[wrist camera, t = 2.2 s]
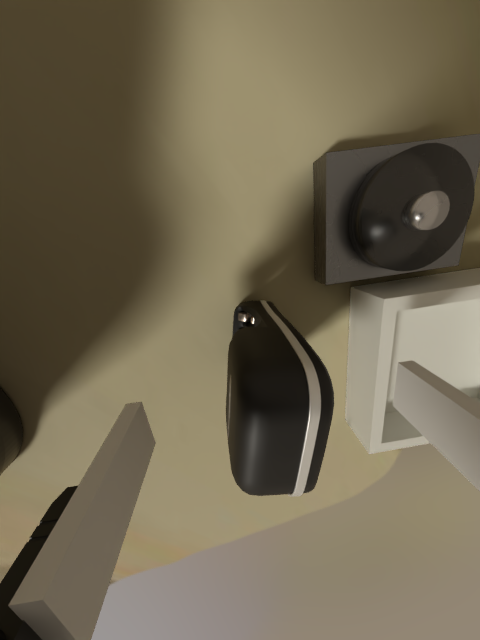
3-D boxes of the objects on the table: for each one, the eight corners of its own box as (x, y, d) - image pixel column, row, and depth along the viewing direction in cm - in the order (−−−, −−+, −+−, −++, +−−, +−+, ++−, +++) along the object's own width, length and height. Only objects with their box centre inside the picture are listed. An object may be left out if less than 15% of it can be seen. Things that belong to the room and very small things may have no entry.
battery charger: (225, 295, 18) (235, 381, 7) (272, 297, 18) (348, 380, 8) (222, 372, 20) (227, 521, 10) (264, 372, 21) (314, 515, 10)
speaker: (314, 280, 18) (343, 292, 14) (313, 163, 15) (348, 135, 11) (434, 262, 19) (497, 269, 14) (453, 145, 16) (539, 111, 12)
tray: (345, 419, 24) (369, 454, 20) (350, 286, 19) (383, 299, 15) (473, 397, 24) (520, 426, 20) (511, 262, 19) (582, 269, 16)
